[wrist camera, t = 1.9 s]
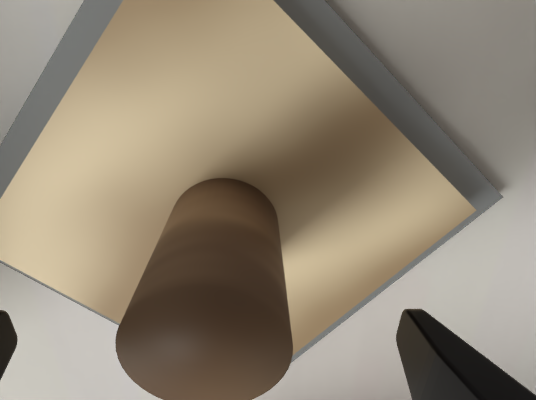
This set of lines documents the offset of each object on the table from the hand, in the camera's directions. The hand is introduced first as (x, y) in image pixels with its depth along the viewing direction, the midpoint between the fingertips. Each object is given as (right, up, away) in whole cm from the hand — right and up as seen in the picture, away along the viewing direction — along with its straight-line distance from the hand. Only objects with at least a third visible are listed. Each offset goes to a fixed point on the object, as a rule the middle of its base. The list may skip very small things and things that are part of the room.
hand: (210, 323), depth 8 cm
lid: (0, +2, +4) cm, 5 cm away
